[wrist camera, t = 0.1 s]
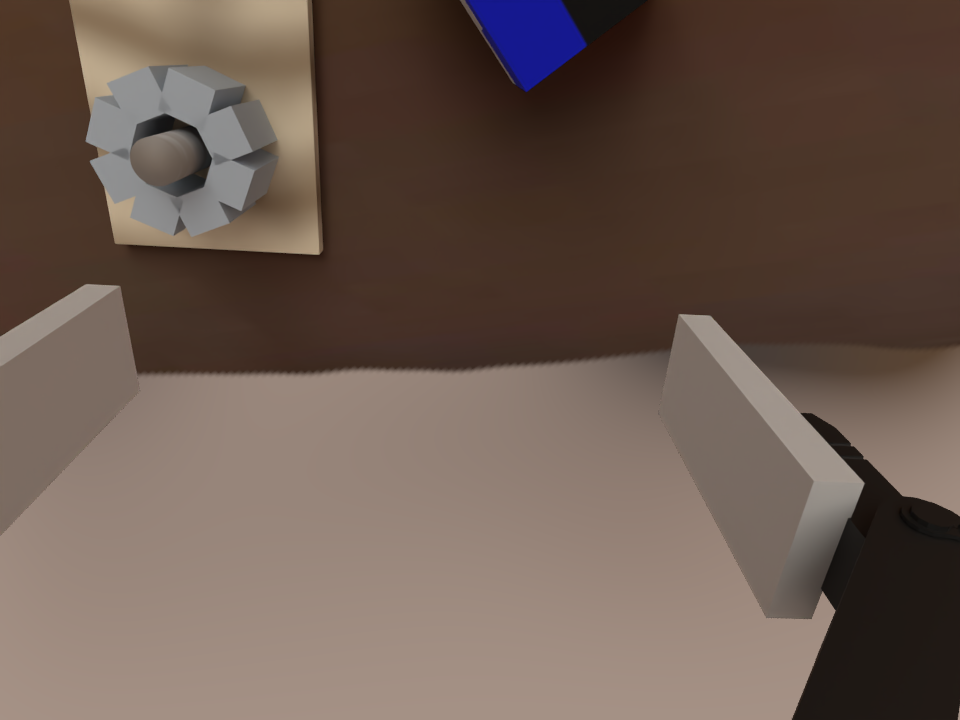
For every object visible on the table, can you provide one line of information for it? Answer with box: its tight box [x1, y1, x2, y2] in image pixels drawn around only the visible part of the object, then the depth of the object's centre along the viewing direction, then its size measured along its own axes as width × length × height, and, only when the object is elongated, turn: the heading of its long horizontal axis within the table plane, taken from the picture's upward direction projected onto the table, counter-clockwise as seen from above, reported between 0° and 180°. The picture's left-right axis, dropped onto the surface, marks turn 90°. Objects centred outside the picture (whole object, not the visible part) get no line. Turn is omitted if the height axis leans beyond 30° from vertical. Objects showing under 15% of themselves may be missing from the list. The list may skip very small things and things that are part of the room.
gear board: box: [69, 0, 323, 255], centre depth 34 cm, size 24×13×8 cm, turn 176°
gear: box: [86, 65, 279, 237], centre depth 36 cm, size 8×8×5 cm
